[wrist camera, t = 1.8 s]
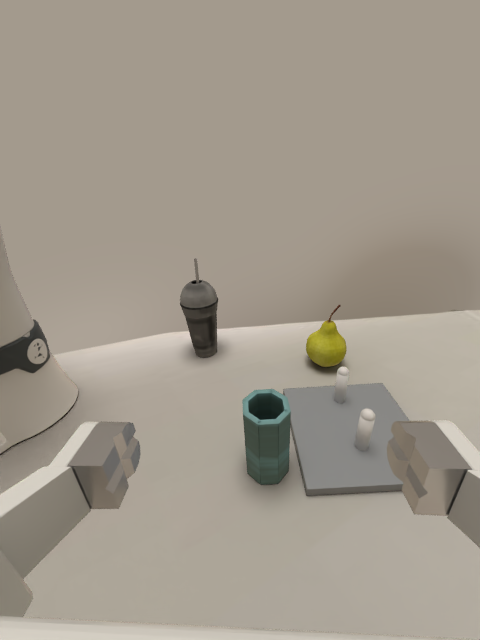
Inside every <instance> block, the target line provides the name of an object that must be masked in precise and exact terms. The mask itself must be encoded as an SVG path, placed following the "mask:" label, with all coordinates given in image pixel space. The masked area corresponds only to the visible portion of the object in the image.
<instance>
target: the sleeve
mask: <svg viewBox="0 0 480 640" xmlns="http://www.w3.org/2000/svg"><path fill="white" fill-rule="evenodd" d="M290 418H291V410H290V406H289V402H288V398H287V397H286V396H284V395H282V394H281V393H279V392H277V391H275V390H273V389H264V390H254V391H253V392H252V393H250V394H249V395H248V396H247V397H246V398H244V399H243V419H244V433H245V446H246V460H247V473H248V474H249V475H250V476H251V477H252V478H253V479H255V480H256V481H257V482H258V483H259V484H261V485H265V484H278V483H279V482H280V481H281V480H282V478H283V477H284V476H285V475H286V473H287V472H288V469H289V444H290Z"/></svg>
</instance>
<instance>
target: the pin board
mask: <svg viewBox="0 0 480 640" xmlns="http://www.w3.org/2000/svg"><path fill="white" fill-rule="evenodd" d="M348 378H349V370H348V369H347V368H346V367H340V368H339V369H338V371H337V378H336V385H335V386H323V387H306V388H289V389H283V395H284V396H286V397H287V398H288V402H289V406H290V410H291V418H290V425H291V430H292V434H293V439H294V443H295V447H296V452H297V456H298V460H299V465H300V469H301V473H302V478H303V482H304V487H305V491H306V495H307V496H310V495H328V494H346V493H364V492H383V491H401V490H402V487H403V482H402V481H401V480H400V479H398V478H397V477H396V476H395V475H394V474H393V472H392V470H391V467H390V465H389V462H388V457H387V445H388V441H389V440H390V439H392V438H393V437H394V436H393V434H392V432H391V427H392V424H393V423H394V422H395V421H409V419H408V418H407V416H406V415H405V414H404V412H403V411H402V410H401V408H400V407H399V405H398V404H397V403H396V401H395V400H394V398H393V397H392V396H391V394H390V393H389V392H388V390H387V389H386V387H385V386H384V385H383V383H374V384H357V385H347V384H348Z"/></svg>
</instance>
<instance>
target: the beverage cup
mask: <svg viewBox="0 0 480 640" xmlns="http://www.w3.org/2000/svg"><path fill="white" fill-rule="evenodd" d="M194 261H195V272H196V280H194V281H191V282H189V283H188V284H187V285H186V286H185V287H184V288H183V290H182V293H181V296H180V297H181V298H180V305H181V307H182V310H183V313H184V315H185V317H186V321H187V325H188V328H189V332H190V336H191V339H192V343H193V347H194V349H195V353H196V355H197V356H199V357H203V358H206V357H211V356H213V355H214V354H215V353H216V352H217V322H216V321H217V319H216V318H217V317H216V311H217V302H218V298H217V295H216V292H215V290H214V288H213V287H212V286H211V285H210V284H209V283H207V282H205V281H203V280H199V275H198V265H197V259H196V258H195V259H194Z"/></svg>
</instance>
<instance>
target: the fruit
mask: <svg viewBox="0 0 480 640" xmlns="http://www.w3.org/2000/svg"><path fill="white" fill-rule="evenodd" d="M339 307H340V305H339V306H338V307H337V308H336V309H335V310H334V312H335V311H336V310H337V309H338V308H339ZM334 312H333V313H334ZM333 313H332V314H331V316H332V315H333ZM331 316H330V318H329V320H327V321H325V322H324V323H323V324H322V326H321V328H320V329H319V330H318V331H316V332H314V333H312V334H311V335H310V336H309V337H308V339H307V344H306V351H307V354H308V356H309V358H310V359H311V360H312V361H313V362H315V363H316V364H318V365H320V366H323V367H330V366H334V365H337V364H339V363H340V362H341V361H342V360H343V359H344V356H345V354H346V343H345V340H344V338H343V337H342V336H341V335H340V334H339V333H338V331H337V328H336V325H335V323H334V322H333V321H331V320H330V319H331Z"/></svg>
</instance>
